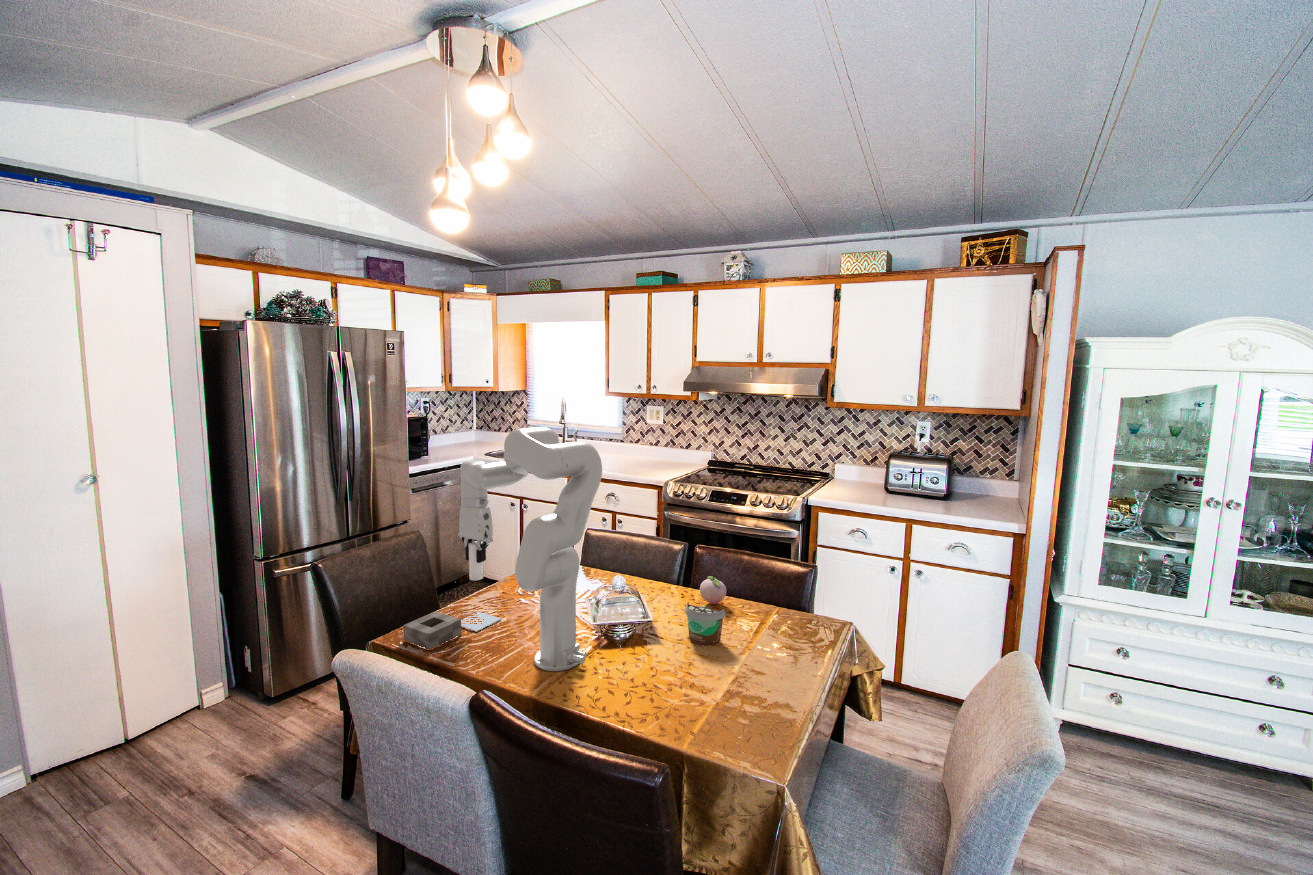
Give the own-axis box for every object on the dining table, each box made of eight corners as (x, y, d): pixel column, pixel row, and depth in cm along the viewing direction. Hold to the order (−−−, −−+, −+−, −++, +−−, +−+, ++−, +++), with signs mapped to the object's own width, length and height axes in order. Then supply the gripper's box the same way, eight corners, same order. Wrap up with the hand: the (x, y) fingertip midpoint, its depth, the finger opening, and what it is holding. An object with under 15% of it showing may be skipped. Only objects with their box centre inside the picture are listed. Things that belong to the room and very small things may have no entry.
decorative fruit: (694, 602, 189) (694, 573, 188) (714, 597, 193) (714, 570, 192) (709, 612, 181) (710, 582, 180) (730, 607, 185) (730, 578, 184)
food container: (677, 641, 161) (677, 608, 160) (686, 633, 166) (686, 601, 165) (717, 651, 155) (717, 617, 154) (724, 642, 160) (725, 609, 159)
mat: (501, 620, 173) (501, 618, 173) (476, 632, 165) (476, 630, 165) (478, 613, 178) (478, 611, 178) (453, 625, 170) (453, 623, 170)
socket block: (461, 635, 163) (460, 619, 162) (429, 651, 153) (429, 634, 153) (436, 627, 168) (435, 611, 168) (404, 641, 159) (403, 625, 158)
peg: (485, 577, 171) (485, 542, 170) (475, 581, 167) (475, 545, 166) (476, 574, 173) (475, 540, 172) (466, 578, 169) (465, 543, 168)
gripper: (503, 502, 167) (504, 561, 169) (464, 496, 175) (466, 552, 177) (485, 507, 160) (486, 568, 162) (445, 500, 168) (447, 559, 170)
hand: (475, 559), depth 169 cm, fingers closed on peg, 4 cm apart
